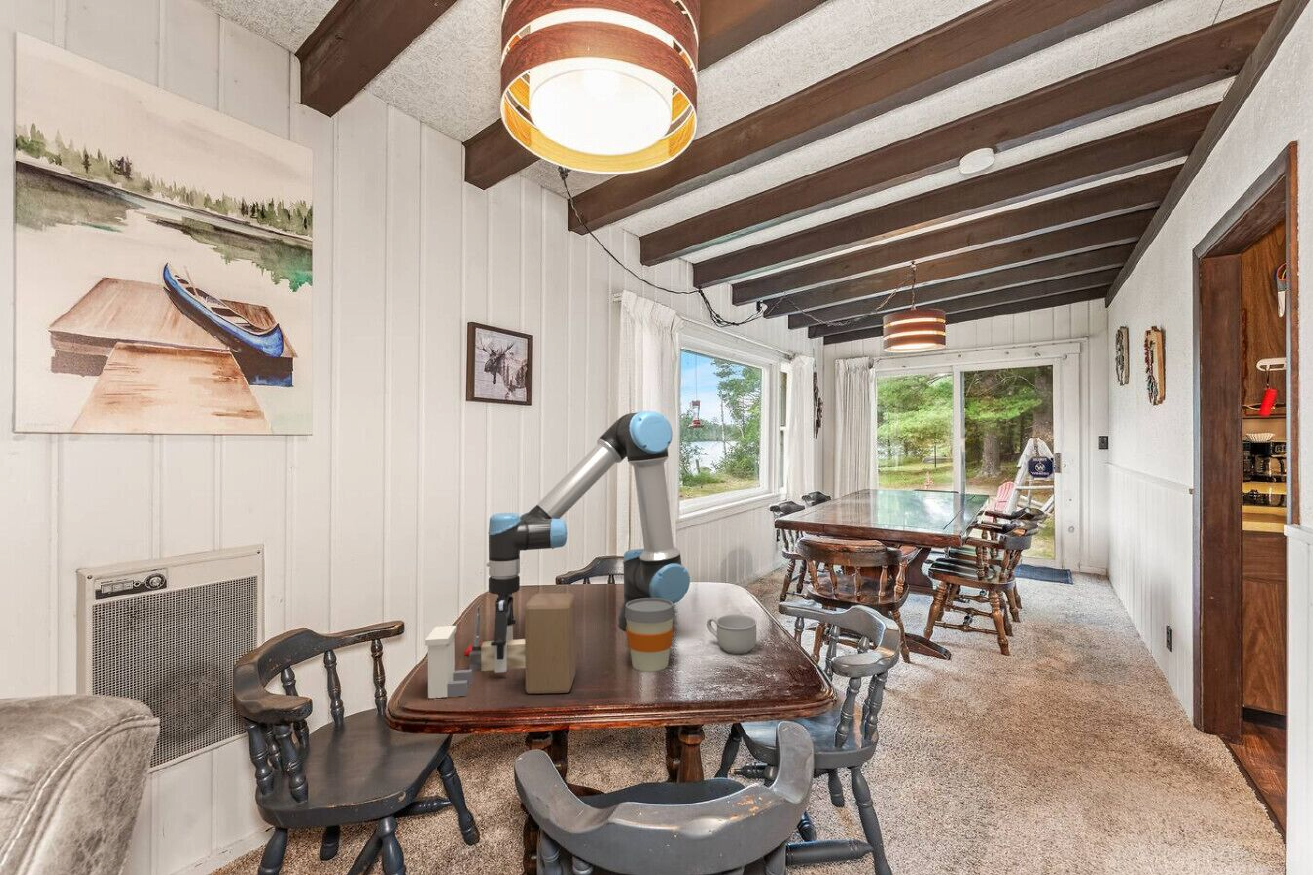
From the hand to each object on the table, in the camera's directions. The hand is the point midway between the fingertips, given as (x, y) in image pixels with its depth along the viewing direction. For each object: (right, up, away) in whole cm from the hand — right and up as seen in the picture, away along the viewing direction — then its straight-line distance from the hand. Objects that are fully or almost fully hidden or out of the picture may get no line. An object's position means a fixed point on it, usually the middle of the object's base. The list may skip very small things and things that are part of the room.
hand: (504, 660), depth 140 cm
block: (+14, -1, -11) cm, 18 cm away
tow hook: (-9, -2, +11) cm, 15 cm away
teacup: (+58, -1, +11) cm, 59 cm away
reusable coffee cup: (+37, -1, 0) cm, 37 cm away
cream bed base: (-9, -1, -13) cm, 16 cm away
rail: (-1, -2, 0) cm, 2 cm away
